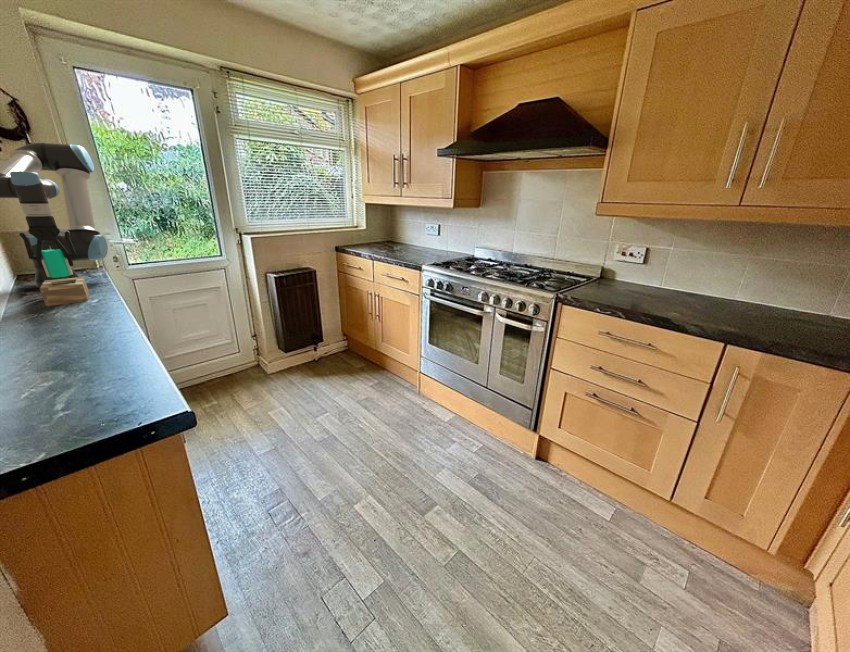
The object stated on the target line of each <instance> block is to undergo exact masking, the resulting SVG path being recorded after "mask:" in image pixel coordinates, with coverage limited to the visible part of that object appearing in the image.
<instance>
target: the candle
mask: <svg viewBox="0 0 850 652" xmlns="http://www.w3.org/2000/svg"><path fill="white" fill-rule="evenodd" d="M41 254H42V256H43V259H44V261H45V264H46V267H47V269H48V272H49V275H50V277H52V278H58V277H66V276H70V273H69V271H68V268H67V265H66V262H65V257H64V254H63V252H62V251H61V250H60V249H56V250H53V249H51V247H50V249H48V250H42V251H41Z"/></svg>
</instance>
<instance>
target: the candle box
mask: <svg viewBox="0 0 850 652" xmlns="http://www.w3.org/2000/svg"><path fill="white" fill-rule="evenodd" d="M87 285H88V284H87V281H86V279H85V277H84V276H81V277H80V276H79V277H78V278H68V279H57V280H47V281H44V282H43V284H42V286H41V287H40V288H39V291H40V294H41V296H42V299H43V301H44V304H45V307H51V306H59V305H67V304H75V303H82V302H88V301H89V297H90V291H89V288H88V286H87Z"/></svg>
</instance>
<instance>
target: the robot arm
mask: <svg viewBox="0 0 850 652" xmlns="http://www.w3.org/2000/svg"><path fill="white" fill-rule="evenodd" d="M40 171H41V172H42V171H48V172H49V171H52V172H55V174H56V175H58V176H59V177H60V179H61V186H62V190H63V194H64V195H63V196H64V200H65V207H66V208H65V209H66V212H67V213H66V214H67V218H68V219H67V220H68V224H69V227H68V229H66V230H61V229H60V228H59V227H58V226H57V223H56V220H55V217H54V216H53V215H52V214H53V212H52V208H51V206H50V203H49V199H54V198H56V197H58V196H59V195H60V188H59V186H58V184H57V183H56V182H54V181H53V180H51V179H49V178H46V177H40V174H39V172H40ZM94 172H95V165H94V163H93V160H92V158H91V155H90V154H89V152H88V151H87V150H86V149H85V148H84V147H83V146H81V145H77V144H70V143H68V144H66V143H65V144H64V143H47V142H46V143H45V142H32V143H28V144H24V145H22V146H19V147H18V148H16V149H15V150H12V151H11V153H10V154H9V159H7V160H6V161H5V162H3V163H2V164H1V165H0V199H18V201H19V204H20V206H21V210H22V213H23V215H25V217H24V218H25V221H26V224H27V226H28V231H25V232H20V233H19V236H20V237H21V239H23V244H24V246H25V249H26V253H27V256H28V259H29V260H31V261H32V263H33V266H34V268H35V274H34V275H35V277H34V284H35V286H36V288H37V289H38V288H39V289H40V287H41V286H42V284H43V282H44V281H47V280H57V279H68V278H78V277H80V275H78V273H77V272H76V271H75V270H74V269H73V267H74V262H83V261H98V260H99V261H100V260H103V259H105V258H106V257H107V255H108V242H107V238H106V237H105V236H104V235H102V234H101V233H100V231H98V230H97V229H96V228H95V222H94V217H93V211H92V209H93V208H92V204H91V197H90V193H89V186H88V181H87V180H88V179H90V178H91V174H90V173H94ZM30 235H31V236H30ZM50 247H51V249H53V250H56V249H60V250H61V251H62V252H63V254H64V257H65V262H66V265H67V268H68V271H69V273H70V276H66V277H58V278H52V277H50V275H49V272H48V269H47V267H46V264H45V261H44V259H43V256H42V254H41V251H42V250H48V249H50Z"/></svg>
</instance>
